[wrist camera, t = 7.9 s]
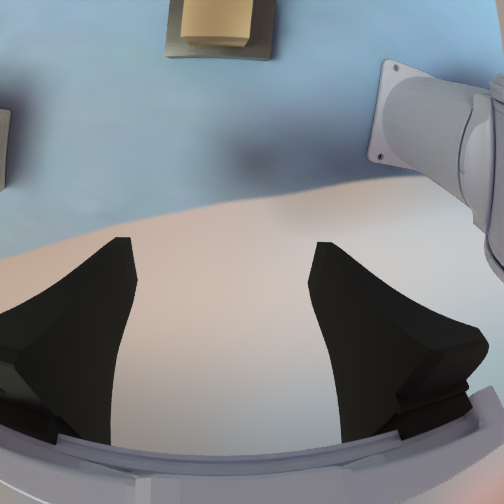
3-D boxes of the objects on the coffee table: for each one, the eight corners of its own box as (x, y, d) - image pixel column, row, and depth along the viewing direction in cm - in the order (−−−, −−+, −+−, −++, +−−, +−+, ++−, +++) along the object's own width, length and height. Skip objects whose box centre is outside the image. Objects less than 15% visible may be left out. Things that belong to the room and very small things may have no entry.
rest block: (271, 7, 13) (276, 0, 12) (265, 61, 16) (269, 59, 14) (176, 4, 13) (170, -3, 11) (171, 58, 15) (165, 56, 13)
